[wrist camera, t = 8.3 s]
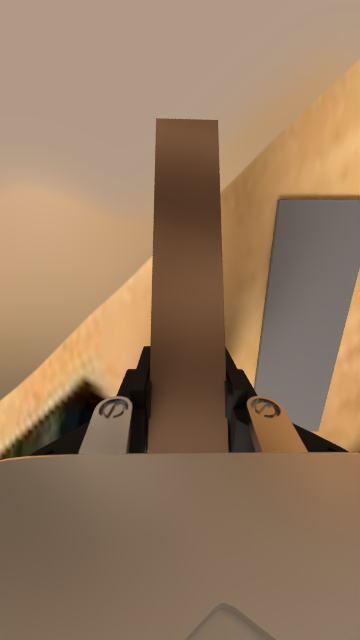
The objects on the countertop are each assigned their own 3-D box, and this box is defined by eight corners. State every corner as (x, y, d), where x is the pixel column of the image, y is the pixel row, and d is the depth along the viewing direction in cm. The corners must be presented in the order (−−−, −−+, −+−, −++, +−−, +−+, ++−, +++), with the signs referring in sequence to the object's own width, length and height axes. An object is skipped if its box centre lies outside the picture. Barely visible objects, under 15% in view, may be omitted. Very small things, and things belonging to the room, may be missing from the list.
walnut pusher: (134, 194, 15) (114, 117, 10) (231, 196, 15) (258, 121, 10) (116, 619, 11) (69, 832, 6) (249, 615, 11) (306, 819, 6)
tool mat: (277, 200, 22) (279, 199, 22) (372, 201, 22) (376, 199, 22) (248, 429, 31) (249, 432, 31) (315, 428, 31) (318, 431, 31)
